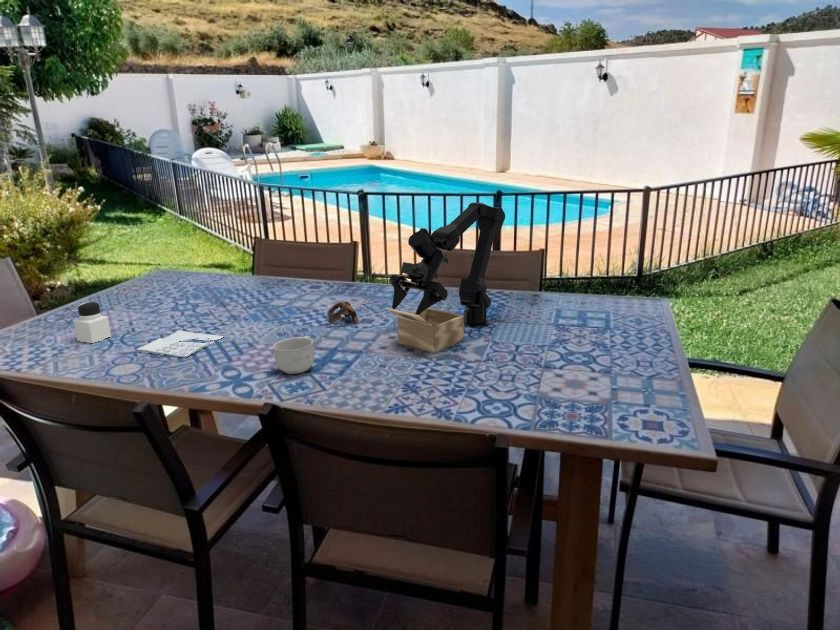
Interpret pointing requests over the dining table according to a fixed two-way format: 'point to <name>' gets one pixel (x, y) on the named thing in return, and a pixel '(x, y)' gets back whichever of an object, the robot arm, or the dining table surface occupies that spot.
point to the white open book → (179, 344)
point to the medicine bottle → (91, 323)
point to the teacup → (294, 354)
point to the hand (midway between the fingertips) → (404, 311)
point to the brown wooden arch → (342, 312)
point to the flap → (409, 316)
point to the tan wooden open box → (431, 330)
